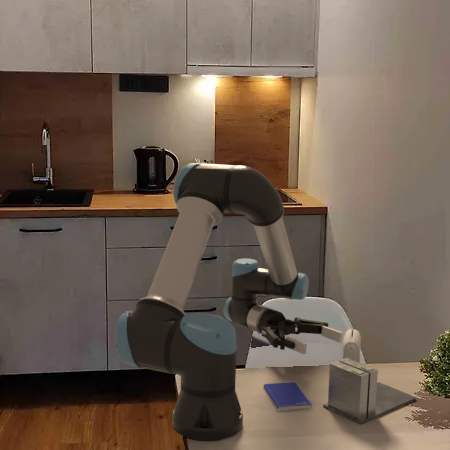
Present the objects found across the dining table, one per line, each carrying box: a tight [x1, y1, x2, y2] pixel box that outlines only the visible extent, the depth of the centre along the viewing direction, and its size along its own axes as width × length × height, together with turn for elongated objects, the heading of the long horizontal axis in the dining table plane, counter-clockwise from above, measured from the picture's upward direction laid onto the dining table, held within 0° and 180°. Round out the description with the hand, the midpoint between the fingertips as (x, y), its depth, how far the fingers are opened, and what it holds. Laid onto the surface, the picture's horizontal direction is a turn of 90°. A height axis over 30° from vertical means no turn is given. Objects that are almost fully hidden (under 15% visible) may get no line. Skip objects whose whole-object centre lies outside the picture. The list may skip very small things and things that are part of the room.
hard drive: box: [263, 381, 313, 412], centre depth 168 cm, size 2×8×12 cm
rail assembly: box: [322, 358, 417, 425], centre depth 164 cm, size 20×11×11 cm, turn 130°
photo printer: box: [341, 328, 362, 363], centre depth 178 cm, size 10×4×12 cm, turn 168°
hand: (323, 343), depth 185 cm, fingers open, 13 cm apart
